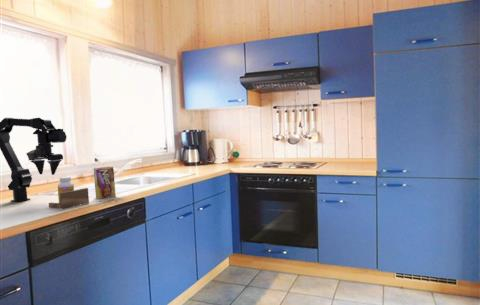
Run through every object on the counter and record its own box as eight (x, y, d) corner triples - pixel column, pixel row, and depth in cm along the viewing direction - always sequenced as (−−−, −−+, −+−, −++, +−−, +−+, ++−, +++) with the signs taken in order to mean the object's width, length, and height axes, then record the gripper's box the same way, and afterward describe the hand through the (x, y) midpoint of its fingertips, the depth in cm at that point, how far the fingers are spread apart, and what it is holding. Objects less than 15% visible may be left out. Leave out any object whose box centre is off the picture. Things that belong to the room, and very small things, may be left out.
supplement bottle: (60, 207, 165) (58, 179, 164) (57, 205, 170) (55, 177, 169) (76, 204, 169) (74, 177, 168) (73, 202, 174) (71, 176, 173)
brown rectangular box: (47, 207, 165) (46, 192, 165) (74, 201, 178) (73, 187, 177) (62, 209, 161) (61, 193, 160) (88, 202, 173) (87, 188, 172)
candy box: (112, 195, 190) (111, 166, 189) (116, 196, 187) (114, 166, 186) (95, 198, 185) (93, 167, 184) (98, 199, 181) (96, 168, 180)
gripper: (16, 144, 178) (19, 176, 179) (41, 143, 170) (44, 177, 171) (38, 143, 188) (40, 173, 189) (62, 142, 179) (65, 174, 181)
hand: (47, 174), depth 182 cm, fingers open, 9 cm apart
